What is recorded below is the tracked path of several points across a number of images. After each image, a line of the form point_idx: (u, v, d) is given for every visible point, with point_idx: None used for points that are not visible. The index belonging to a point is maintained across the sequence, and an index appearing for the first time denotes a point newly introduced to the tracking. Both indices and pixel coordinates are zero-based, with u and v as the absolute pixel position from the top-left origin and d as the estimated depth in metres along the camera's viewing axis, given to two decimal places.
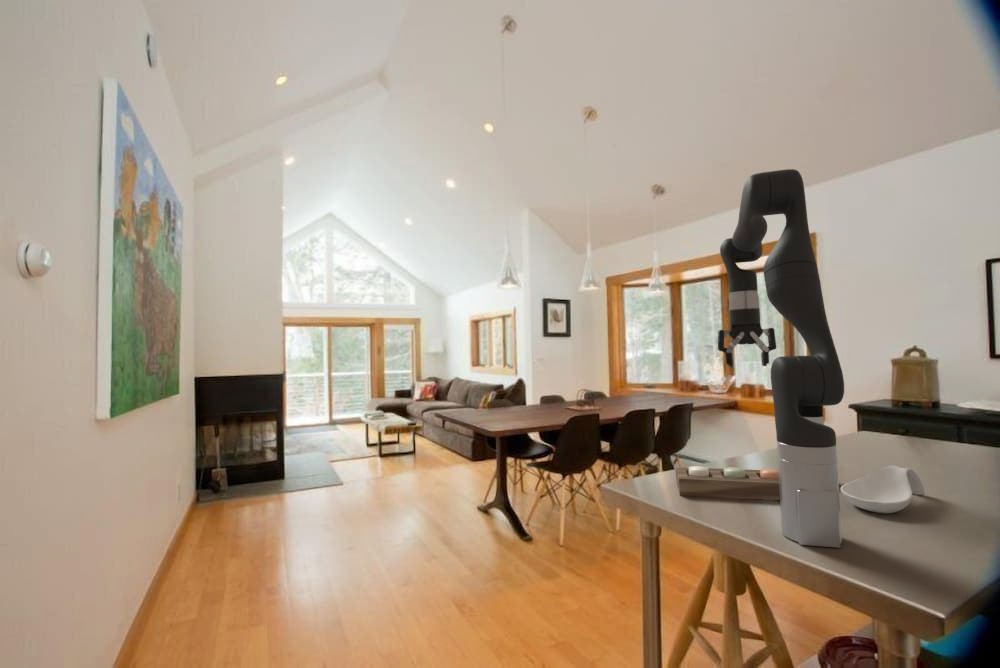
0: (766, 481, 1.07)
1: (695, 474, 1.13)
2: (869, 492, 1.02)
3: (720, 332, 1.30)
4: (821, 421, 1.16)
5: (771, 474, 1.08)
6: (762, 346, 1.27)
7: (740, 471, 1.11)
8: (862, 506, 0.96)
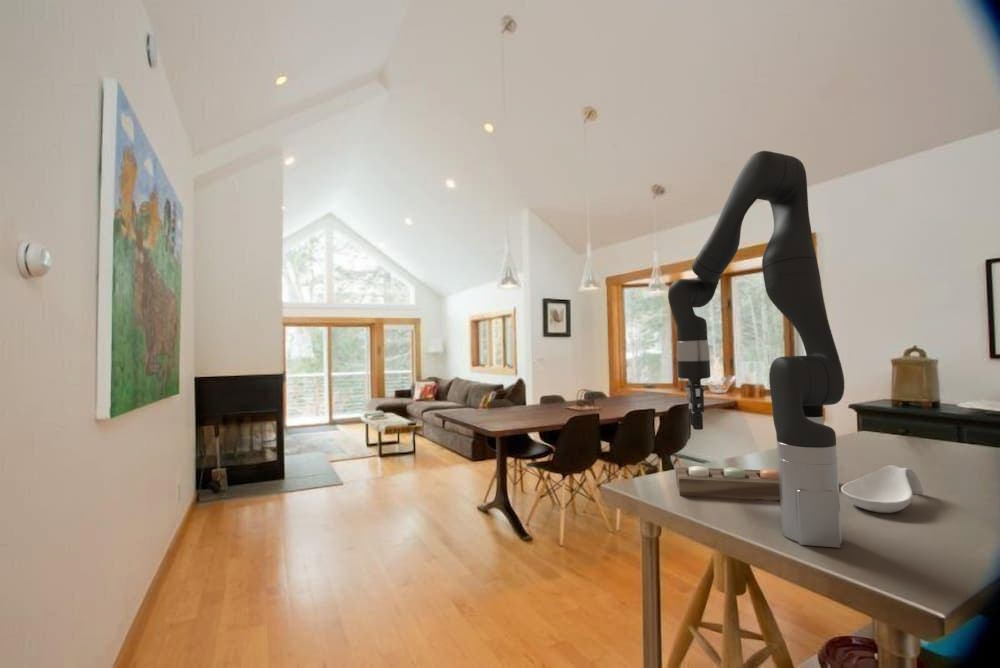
0: (766, 481, 1.07)
1: (695, 474, 1.13)
2: (869, 492, 1.03)
3: (703, 390, 1.09)
4: (821, 421, 1.16)
5: (771, 474, 1.08)
6: None
7: (740, 471, 1.11)
8: (863, 506, 0.96)
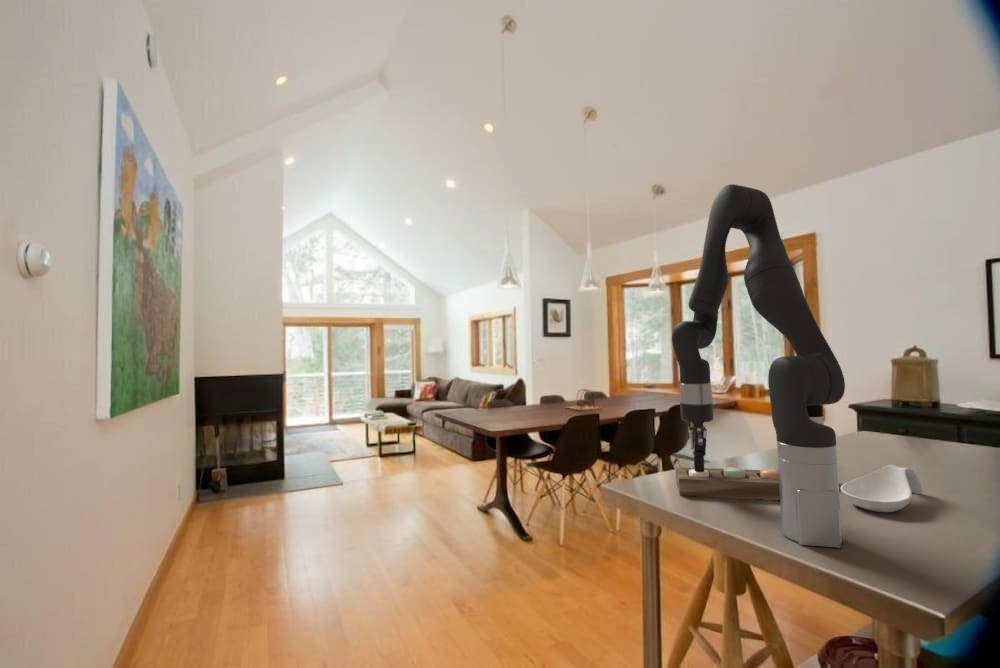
0: (766, 481, 1.07)
1: None
2: (868, 491, 1.03)
3: (705, 441, 1.10)
4: (821, 421, 1.16)
5: (771, 474, 1.08)
6: None
7: (740, 471, 1.11)
8: (862, 505, 0.97)
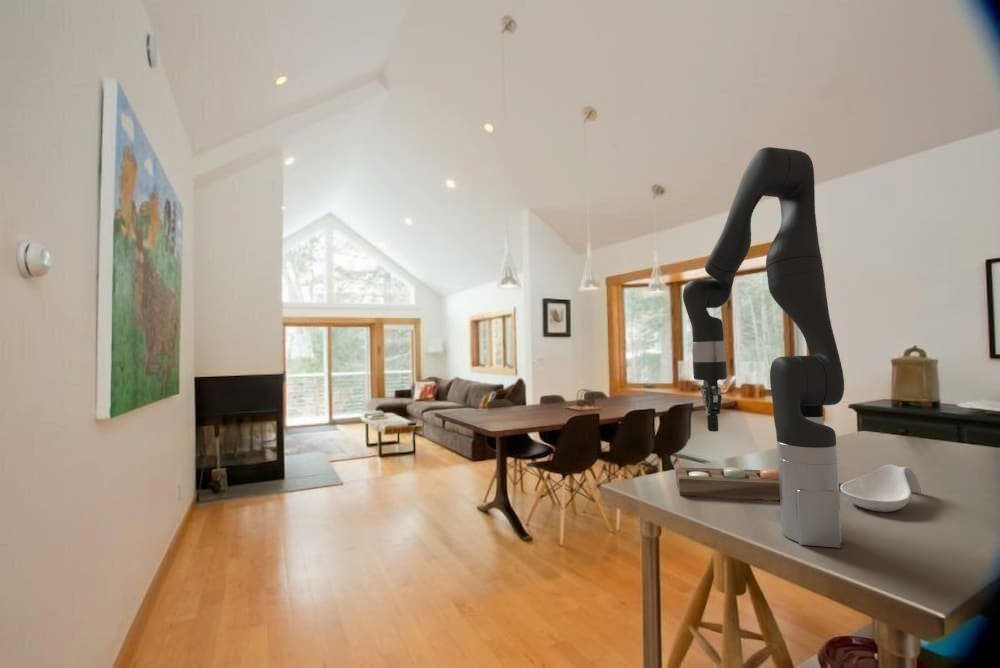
0: (766, 481, 1.07)
1: None
2: (868, 491, 1.03)
3: (721, 397, 1.08)
4: (821, 421, 1.16)
5: (771, 474, 1.08)
6: None
7: (740, 471, 1.11)
8: (862, 505, 0.97)
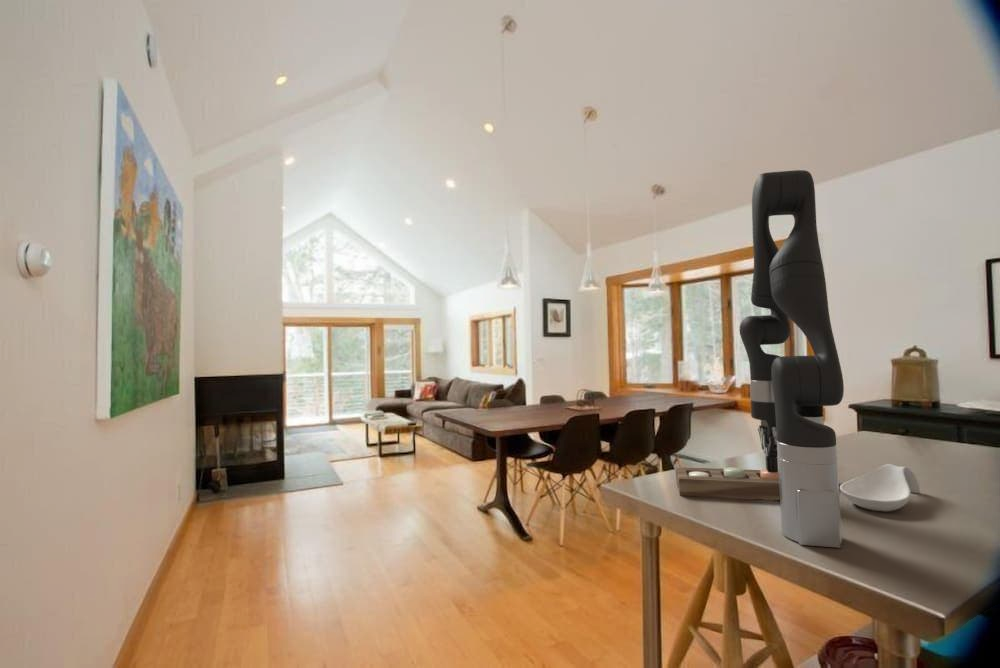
0: (766, 481, 1.07)
1: None
2: (867, 490, 1.04)
3: None
4: (821, 421, 1.16)
5: (771, 475, 1.08)
6: None
7: (740, 471, 1.11)
8: (862, 505, 0.97)
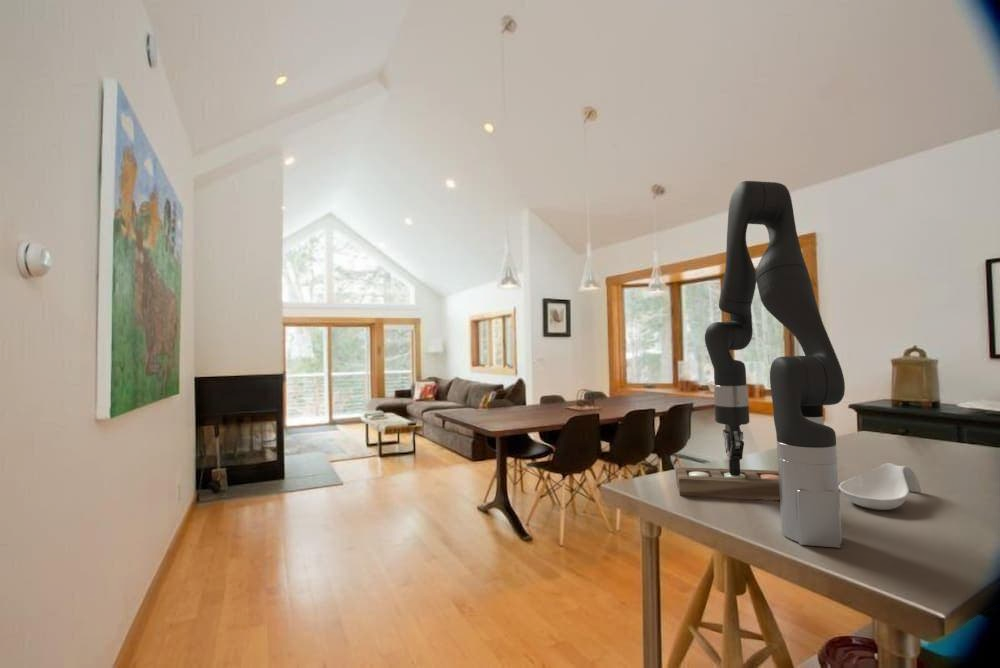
0: (766, 481, 1.07)
1: None
2: (867, 489, 1.04)
3: (743, 444, 1.07)
4: (821, 421, 1.16)
5: None
6: None
7: (740, 476, 1.11)
8: (860, 503, 0.98)
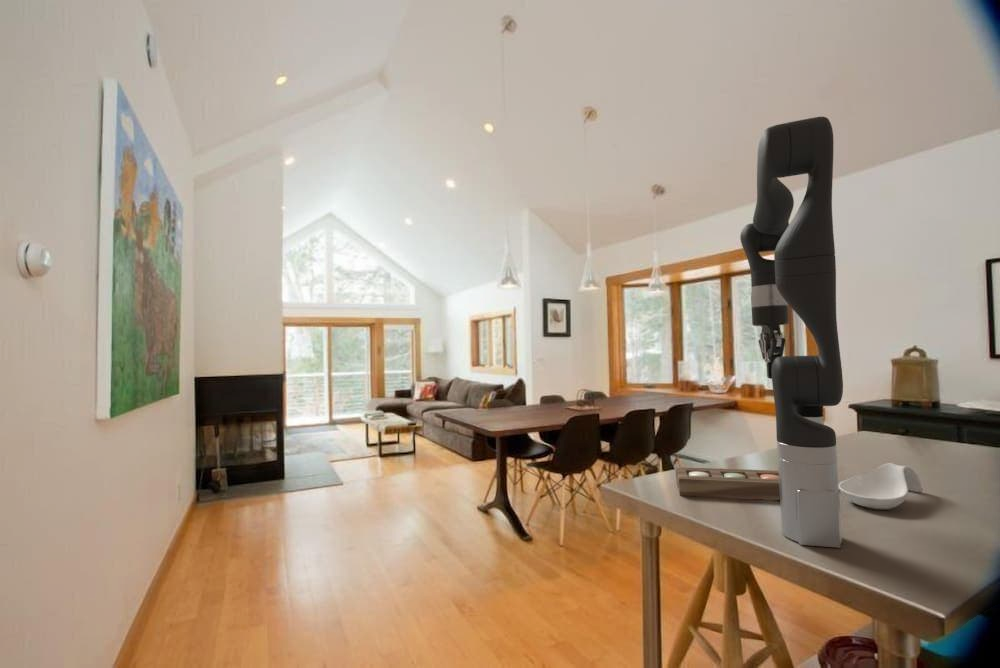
0: (766, 481, 1.07)
1: None
2: (866, 489, 1.05)
3: (784, 341, 1.04)
4: (821, 421, 1.16)
5: None
6: None
7: (740, 477, 1.11)
8: (858, 502, 0.99)
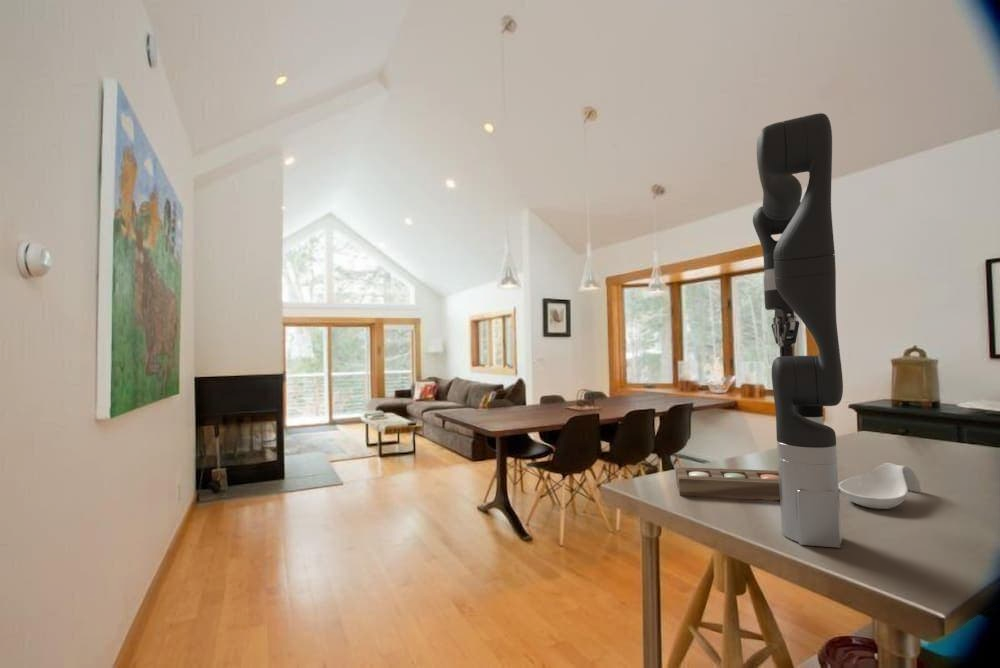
0: (766, 481, 1.07)
1: None
2: (866, 489, 1.05)
3: (798, 324, 1.03)
4: (821, 421, 1.16)
5: None
6: None
7: (740, 477, 1.11)
8: (859, 502, 0.99)
